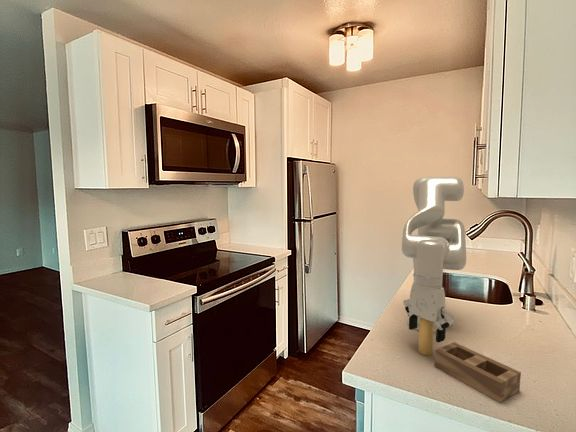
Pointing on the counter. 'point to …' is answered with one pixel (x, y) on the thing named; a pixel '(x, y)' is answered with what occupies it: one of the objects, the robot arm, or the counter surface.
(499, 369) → the socket block
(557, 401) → the counter surface
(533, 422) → the counter surface
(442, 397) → the counter surface
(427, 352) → the peg
